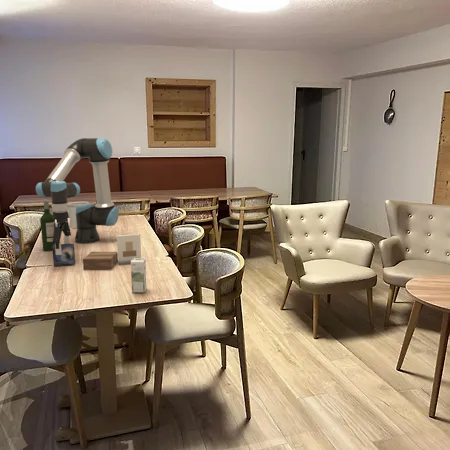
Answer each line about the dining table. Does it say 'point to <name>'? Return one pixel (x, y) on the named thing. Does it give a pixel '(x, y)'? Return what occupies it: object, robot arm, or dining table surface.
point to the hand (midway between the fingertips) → (63, 251)
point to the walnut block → (100, 260)
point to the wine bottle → (47, 227)
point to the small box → (64, 255)
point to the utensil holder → (74, 212)
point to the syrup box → (138, 275)
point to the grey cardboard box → (128, 248)
